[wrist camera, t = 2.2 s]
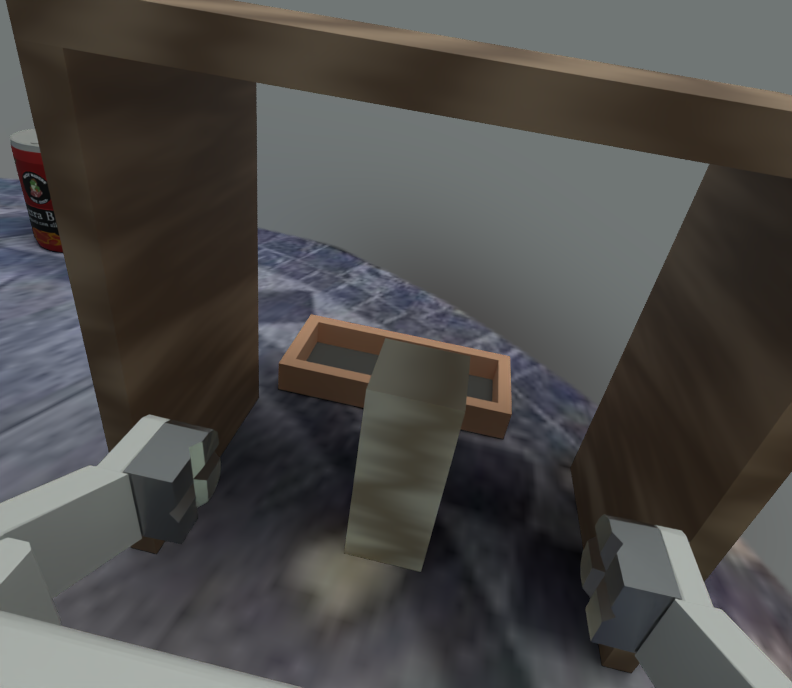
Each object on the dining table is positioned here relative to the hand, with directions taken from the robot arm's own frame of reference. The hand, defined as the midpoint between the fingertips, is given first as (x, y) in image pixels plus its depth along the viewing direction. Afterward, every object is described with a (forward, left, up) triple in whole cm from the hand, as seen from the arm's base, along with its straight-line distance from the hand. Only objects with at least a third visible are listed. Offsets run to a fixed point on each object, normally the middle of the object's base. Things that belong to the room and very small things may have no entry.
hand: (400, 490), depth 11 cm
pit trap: (-2, +27, -18) cm, 33 cm away
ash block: (0, +13, -18) cm, 22 cm away
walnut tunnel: (0, +15, -18) cm, 23 cm away
